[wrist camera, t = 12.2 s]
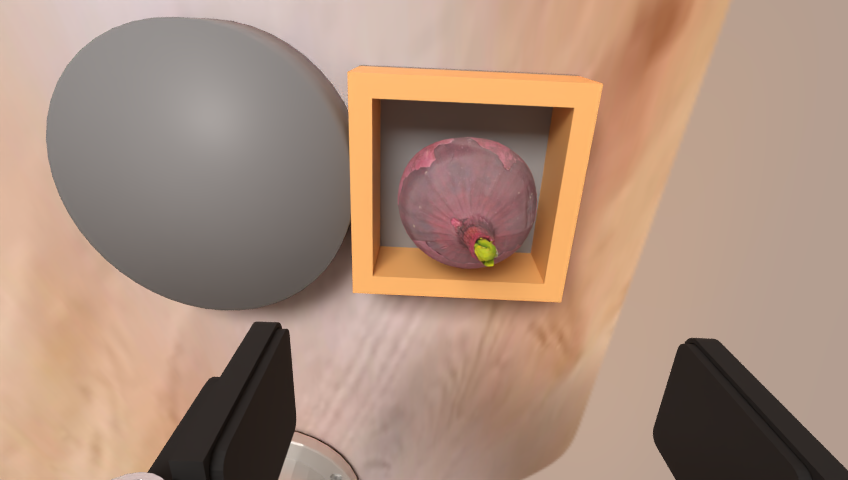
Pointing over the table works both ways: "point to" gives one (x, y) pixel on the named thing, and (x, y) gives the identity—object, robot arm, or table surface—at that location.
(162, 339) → the table surface
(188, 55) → the dome with orange frame
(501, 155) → the vegetable
